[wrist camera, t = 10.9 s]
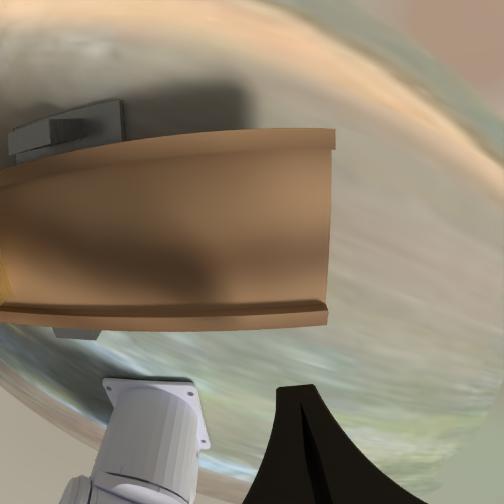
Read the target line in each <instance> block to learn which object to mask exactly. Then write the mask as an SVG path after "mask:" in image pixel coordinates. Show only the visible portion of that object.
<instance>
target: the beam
mask: <svg viewBox="0 0 504 504" xmlns="http://www.w3.org/2000/svg"><path fill="white" fill-rule="evenodd" d="M331 150H335V129H325V128H271V129H243V130H225V131H211V132H199V133H188V134H179V135H170V136H161V137H153V138H146V139H139V140H132V141H125V142H119V143H113V144H107V145H102V146H96V147H91V148H86V149H81V150H76V151H71V152H67V153H62V154H58V155H53V156H49V157H45V158H41V159H37V160H33V161H29V162H25V163H22V164H18V165H15V166H11V167H8V168H4V169H1V170H0V252H1V255H2V259H3V262H4V266H5V269H6V272H7V275H8V278H9V281H10V284H11V287H12V290H13V293H14V294H13V295H12V296H10V297H9V298H8V299H7V300H6V301H5V302H4V303H3V304H2V305H1V306H0V322H5V323H14V324H23V325H34V326H45V327H58V328H72V329H89V330H111V331H150V332H197V331H237V330H260V329H278V328H294V327H307V326H320V325H327V318H328V309H327V306H326V304H325V302H326V290H327V275H328V259H329V240H330V215H331Z"/></svg>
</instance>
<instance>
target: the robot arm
mask: <svg viewBox="0 0 504 504" xmlns="http://www.w3.org/2000/svg"><path fill="white" fill-rule="evenodd" d="M102 384H103V387H104V389H105V391H106V393H107V395H108V397H109V399H110V401H111V403H112V405H113V407H114V410H113V412H112V415H111V418H110V421H109V423H108V426H107V429H106V432H105V435H104V437H103V440H102V443H101V446H100V449H99V452H98V455H97V458H96V461H95V465H94V467H93V470H92V473H91V476H90V477H89V478H88V477H86V476H83V475H81V476H79V477H75V478H72V479H71V480H70V481H69V483H68V484H67V486H66V488H65V490H64V493H63V495H62V497H61V500H60V502H59V504H192V503H193V501H194V499H195V495H196V485H197V474H198V464H199V454H200V449H209V448H210V446H211V444H210V440H209V436H208V432H207V429H206V425H205V421H204V417H203V413H202V409H201V405H200V401H199V396H198V392H197V388H196V385H195V384H194V383H191V382H165V381H144V380H129V379H116V378H104V379H103V381H102ZM191 392H192V393H191ZM242 504H427V503H426V502H424V501H422V500H420V499H419V498H417V497H415V496H414V495H412V494H411V493H409V492H408V491H406V490H405V489H403V488H402V487H400V486H399V485H398V484H396V483H395V482H394V481H393V480H391V479H390V478H389V477H387V476H386V475H385V474H384V473H382V472H381V471H380V470H379V469H378V468H377V467H376V466H375V465H374V464H373V463H372V462H370V461H369V460H368V459H367V458H366V457H365V456H364V454H363V453H362V452H361V451H360V450H359V449H358V448H357V447H356V446H355V444H354V443H353V442H352V441H351V440H350V439H349V437H348V436H347V435H346V434H345V432H344V431H343V430H342V428H341V427H340V426H339V424H338V423H337V421H336V420H335V419H334V417H333V416H332V414H331V413H330V411H329V410H328V408H327V406H326V405H325V403H324V401H323V400H322V398H321V396H320V394H319V393H318V391H317V389H316V387H315V385H313V384H309V385H298V386H286V387H279V388H277V389H276V413H275V419H274V423H273V428H272V432H271V436H270V440H269V443H268V446H267V449H266V452H265V455H264V458H263V461H262V463H261V466H260V468H259V471H258V473H257V475H256V478H255V480H254V482H253V484H252V486H251V488H250V490H249V492H248V494H247V496H246V498H245V500H244V501H243V503H242Z"/></svg>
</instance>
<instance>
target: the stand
mask: <svg viewBox="0 0 504 504" xmlns="http://www.w3.org/2000/svg"><path fill="white" fill-rule="evenodd" d="M7 140H8V151H9V155H14V154H15V156H16V165H17V164H21V163H25V162H29V161H32V160H36V159H40V158H44V157H48V156H53V155H57V154H61V153H66V152H70V151H75V150H80V149H85V148H90V147H95V146H101V145H106V144H112V143H118V142H124V141H126V136H125V123H124V107H123V100H115V101H110V102H105V103H101V104H96V105H92V106H88V107H84V108H80V109H76V110H72V111H68V112H65V113H61V114H58V115H54V116H51V117H48V118H44V119H41V120H38V121H35V122H32V123H29V124H26V125H23V126H20V127H17V128H14V129H13V131H12V132H10V133H7ZM52 328H53V330H54V333H55V335H56V337H58V338H70V339H83V340H96V339H97V338H98V336H99V334H100V333H101V331H102V330H89V329H72V328H58V327H52Z"/></svg>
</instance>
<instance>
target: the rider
mask: <svg viewBox="0 0 504 504" xmlns="http://www.w3.org/2000/svg"><path fill="white" fill-rule="evenodd" d="M13 294H14V293H13V290H12V287H11V284H10V281H9V278H8V275H7V272H6V269H5V266H4V262H3V259H2V255H1V252H0V306H1V305H2V304H3V303H4V302H5V301H6V300H7V299H8V298H9V297H10V296H12V295H13Z"/></svg>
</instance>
